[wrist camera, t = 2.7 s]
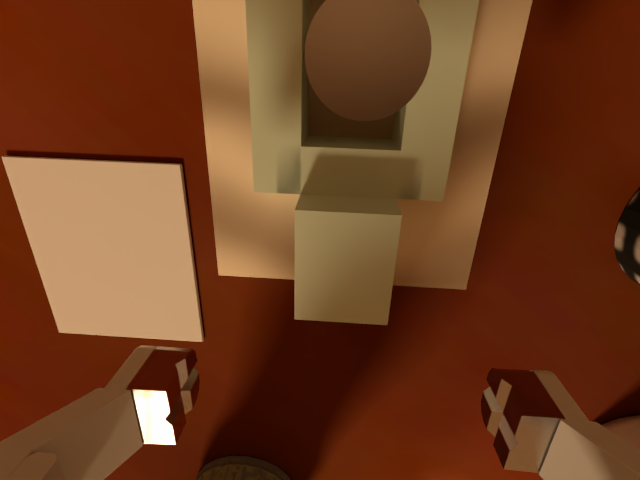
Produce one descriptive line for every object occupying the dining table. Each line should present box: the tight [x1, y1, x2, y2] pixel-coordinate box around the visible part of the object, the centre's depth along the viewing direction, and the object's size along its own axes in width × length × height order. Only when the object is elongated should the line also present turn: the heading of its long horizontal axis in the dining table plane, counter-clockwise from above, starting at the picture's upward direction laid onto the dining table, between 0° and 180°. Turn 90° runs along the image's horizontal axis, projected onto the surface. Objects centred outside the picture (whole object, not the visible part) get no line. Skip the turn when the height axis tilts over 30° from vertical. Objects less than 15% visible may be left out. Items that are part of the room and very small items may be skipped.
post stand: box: [192, 0, 532, 290], centre depth 13 cm, size 18×14×12 cm
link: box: [245, 0, 479, 325], centre depth 15 cm, size 15×8×5 cm, turn 178°
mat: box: [2, 156, 204, 342], centre depth 22 cm, size 12×10×1 cm
